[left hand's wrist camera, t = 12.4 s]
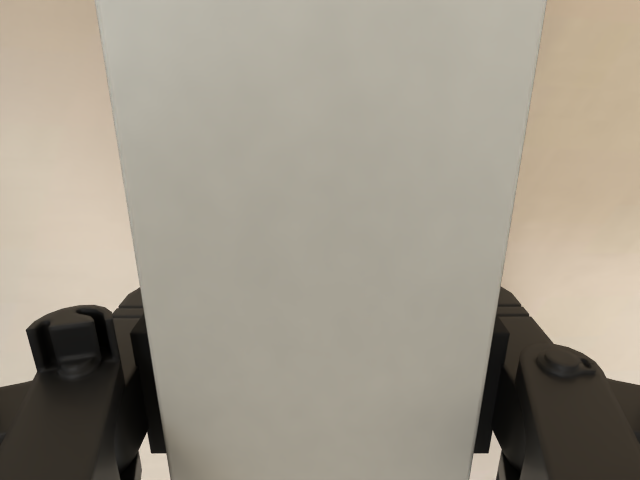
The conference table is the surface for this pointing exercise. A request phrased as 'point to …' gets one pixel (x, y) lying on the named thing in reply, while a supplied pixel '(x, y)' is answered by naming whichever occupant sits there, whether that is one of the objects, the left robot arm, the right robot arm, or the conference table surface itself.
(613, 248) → the conference table surface
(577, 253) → the conference table surface
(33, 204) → the conference table surface
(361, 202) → the bar
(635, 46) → the conference table surface
